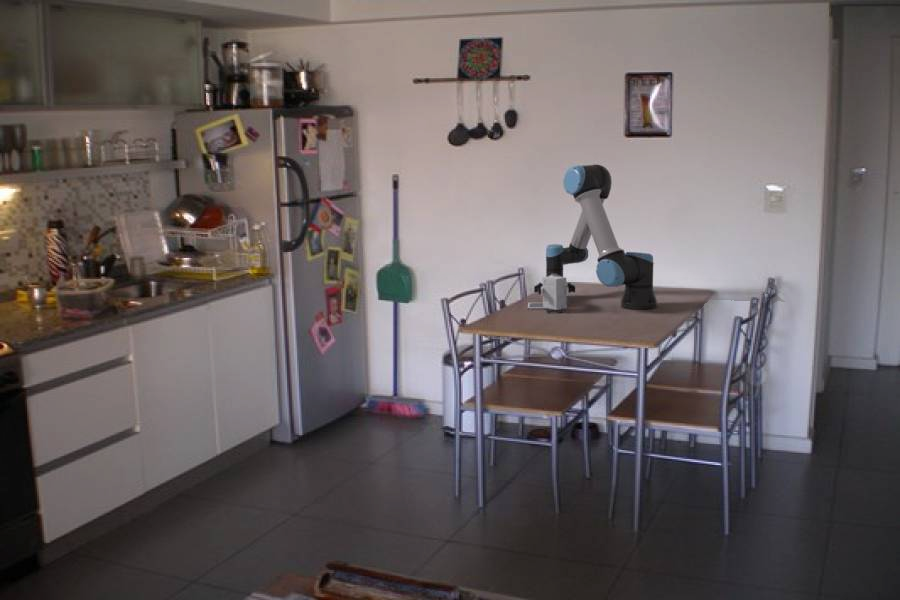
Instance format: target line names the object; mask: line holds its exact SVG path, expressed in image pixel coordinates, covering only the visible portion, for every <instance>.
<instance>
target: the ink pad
mask: <svg viewBox="0 0 900 600" xmlns="http://www.w3.org/2000/svg"><path fill="white" fill-rule="evenodd" d="M547 312H548V313H547ZM551 312H557V313H556V314H559V313H558V312H565V311H564V309H559V310H554V309H549V308H547V310H546V313H547V314H552V313H551Z"/></svg>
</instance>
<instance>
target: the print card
mask: <svg viewBox="0 0 900 600" xmlns="http://www.w3.org/2000/svg"><path fill="white" fill-rule="evenodd" d="M527 303H528V304H527V310H528V309H547V308H543V302H527Z"/></svg>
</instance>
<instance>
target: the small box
mask: <svg viewBox="0 0 900 600" xmlns="http://www.w3.org/2000/svg"><path fill="white" fill-rule="evenodd" d="M542 283H543V296H542V303H543V308H549V309H554V310H559V309H563V310H564V309H567V307H568V306H567V303H568V302H567V300H568V299H567V297H568V296H567V292H566V285H567V277H565V276H563V277H558V276H548V277H546V276H544V277H542Z"/></svg>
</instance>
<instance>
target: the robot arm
mask: <svg viewBox="0 0 900 600" xmlns="http://www.w3.org/2000/svg"><path fill="white" fill-rule="evenodd" d="M562 185H563V189H564V190H565V192H566V193H568V194H569V195H572V196H573V198H574V201H575V202H576V203H579V205H580V207H581V209H582V210H581V213H580V215H579V218H578V220H577V224H576V226H575V229H574V232H573V235H572V238H571V240H570V243H569V246H567V247H564V246H563V245H562V244H558V243H557V244H556V243H555V244H554V243H553V244H548V245H547V246H546V250H545V261H546V262H545V263H546V266H545V268H546V270H545V277H548V276H558V277H564V265H572V264H579V263H583V262H585V261H587V259H588V258H589V249H588V245H589V241H590V239H591V237H592V238H593V241H594V244H595V247H596V249H597V253H598V257H597V259H596V261H597V265H596V267H595V268H596V270H595V273H596V277H597V278H598V281H599V282H600V283H601V284H602V285H603V286H606V287H607V288H608V287H609V288H611V287H614V288H615V287H620V286H621V287H622V286H624V291H623V293H622V296H621V299H620V307H621V308H624V309H629V310H651V309H654V308H657V305H658V301H657V297H656V293H655V291H654V287H653V286H654V264H655V263H654V256H653V254H651V253H647V252H634V251H627V252H625V250H624V249H623V248H621V247H620V246H619V244H618V242H617V239H616V237H615V234H614V232H613V228H612V226H611V223H610V221H609V218H608V216H607V213H606V210H605V208H604V202H605V200H607V199H608V198H609V196H610V192H611V190H612V176H611V173H610V172H609V170H608V169H607V168H606V167H605V166H603V165H601V164H590V165H589V164H588V165H587V164H586V165H585V164H584V165H575V166H571V167H569V168H568V169H567V170H566V172H565V174H564V177H563V182H562ZM533 289H534V290H533V292H534V293H538V295H540V296H541V297H543V282H538V284H536V285H534V286H533ZM566 292H567V297H568V296H569V293H575V292H576V285H574V284H572V283H571V282H566Z"/></svg>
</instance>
